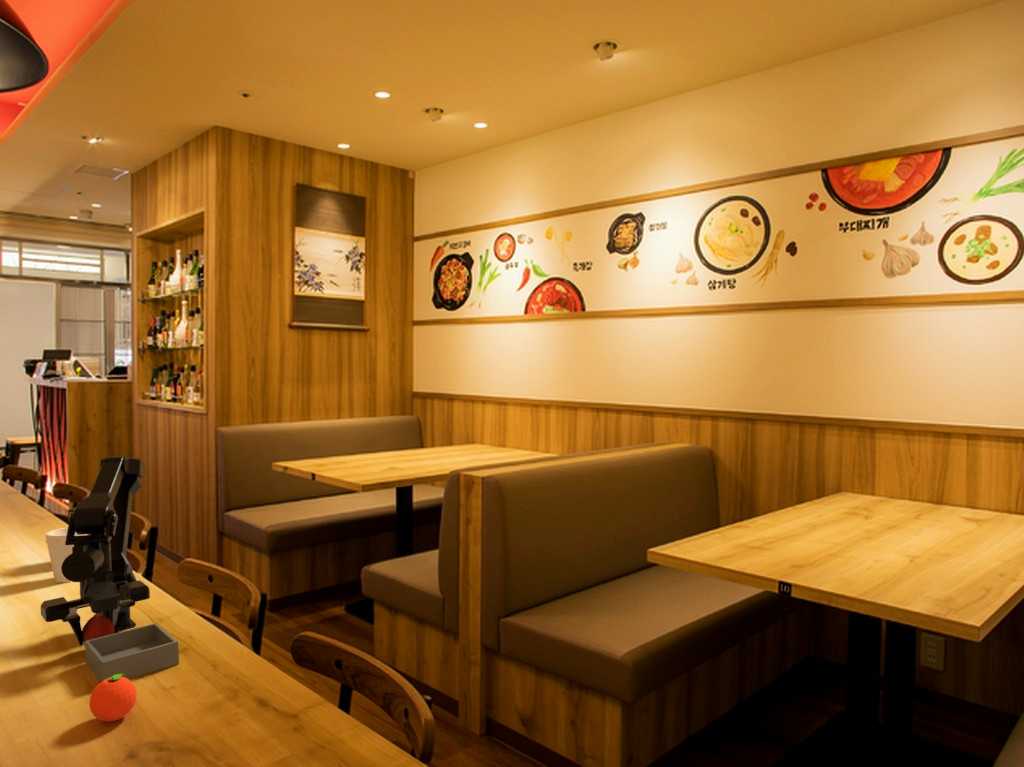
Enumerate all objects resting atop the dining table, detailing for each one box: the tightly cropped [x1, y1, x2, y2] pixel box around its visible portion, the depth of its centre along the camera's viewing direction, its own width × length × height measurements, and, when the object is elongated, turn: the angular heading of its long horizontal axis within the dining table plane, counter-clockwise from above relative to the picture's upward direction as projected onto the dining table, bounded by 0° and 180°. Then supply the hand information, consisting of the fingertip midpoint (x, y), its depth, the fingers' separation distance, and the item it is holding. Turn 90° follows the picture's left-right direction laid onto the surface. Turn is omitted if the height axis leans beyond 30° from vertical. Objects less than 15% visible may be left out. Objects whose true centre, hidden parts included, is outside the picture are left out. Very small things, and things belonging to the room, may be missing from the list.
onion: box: [81, 613, 115, 644], centre depth 147 cm, size 6×6×8 cm
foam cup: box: [45, 526, 88, 584], centre depth 191 cm, size 10×9×13 cm
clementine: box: [89, 674, 137, 723], centre depth 120 cm, size 8×7×7 cm
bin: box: [84, 622, 180, 684], centre depth 140 cm, size 13×13×4 cm
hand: (98, 640), depth 147 cm, fingers closed on onion, 6 cm apart
